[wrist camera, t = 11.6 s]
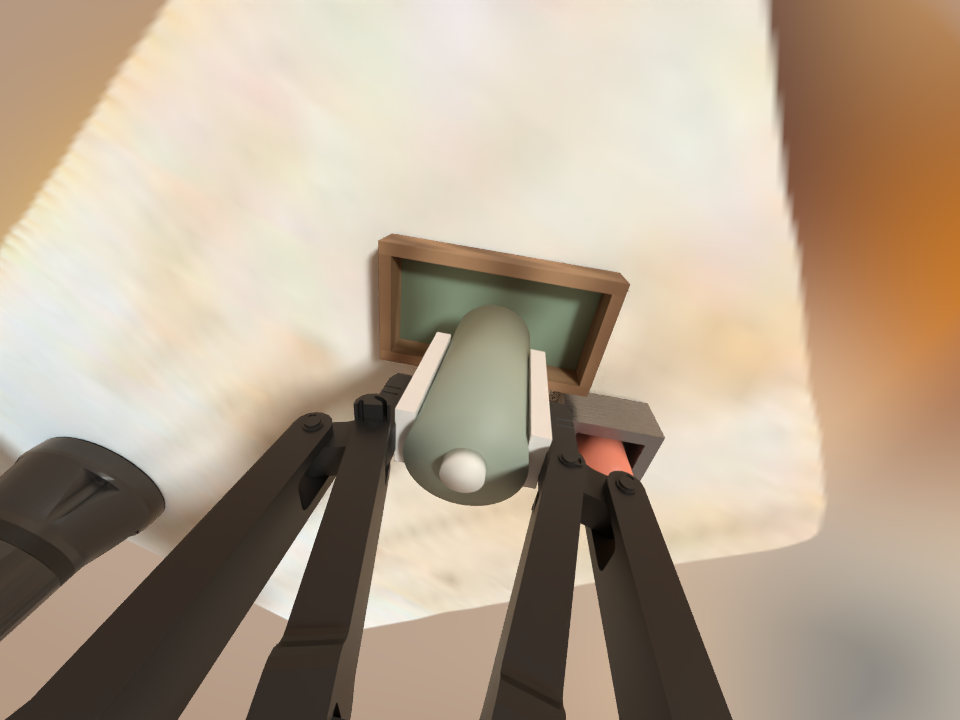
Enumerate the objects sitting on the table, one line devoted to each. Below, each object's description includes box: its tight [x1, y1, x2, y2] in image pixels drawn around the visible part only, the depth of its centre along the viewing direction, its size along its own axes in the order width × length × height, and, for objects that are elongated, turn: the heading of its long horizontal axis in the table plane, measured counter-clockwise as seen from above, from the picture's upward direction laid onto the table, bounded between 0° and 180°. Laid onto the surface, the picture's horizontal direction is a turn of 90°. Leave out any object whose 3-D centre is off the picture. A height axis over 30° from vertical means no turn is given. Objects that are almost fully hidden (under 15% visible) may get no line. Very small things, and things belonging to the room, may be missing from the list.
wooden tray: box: [378, 234, 630, 397], centre depth 24 cm, size 16×9×2 cm, turn 82°
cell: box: [403, 305, 530, 506], centre depth 16 cm, size 5×5×11 cm
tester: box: [557, 393, 665, 481], centre depth 27 cm, size 7×7×4 cm
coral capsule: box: [576, 433, 633, 476], centre depth 26 cm, size 4×4×6 cm
